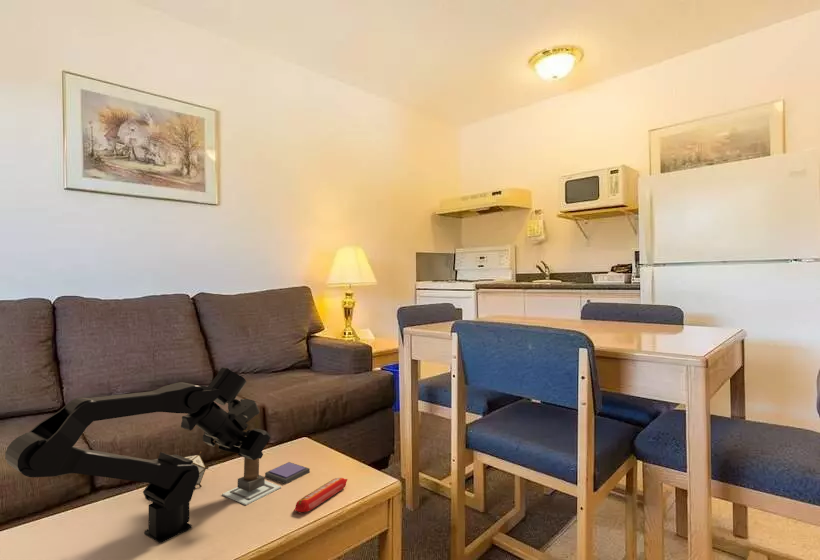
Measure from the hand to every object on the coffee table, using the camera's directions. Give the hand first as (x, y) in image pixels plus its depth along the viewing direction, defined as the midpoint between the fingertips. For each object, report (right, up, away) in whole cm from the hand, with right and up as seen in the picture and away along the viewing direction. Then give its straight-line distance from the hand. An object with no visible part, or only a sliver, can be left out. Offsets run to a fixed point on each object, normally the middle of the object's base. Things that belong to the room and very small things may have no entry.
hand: (256, 455), depth 105 cm
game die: (-17, -9, +1) cm, 19 cm away
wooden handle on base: (-1, -7, -1) cm, 7 cm away
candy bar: (+17, -9, -5) cm, 20 cm away
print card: (-1, -8, -1) cm, 8 cm away
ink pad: (+5, -8, +8) cm, 13 cm away
